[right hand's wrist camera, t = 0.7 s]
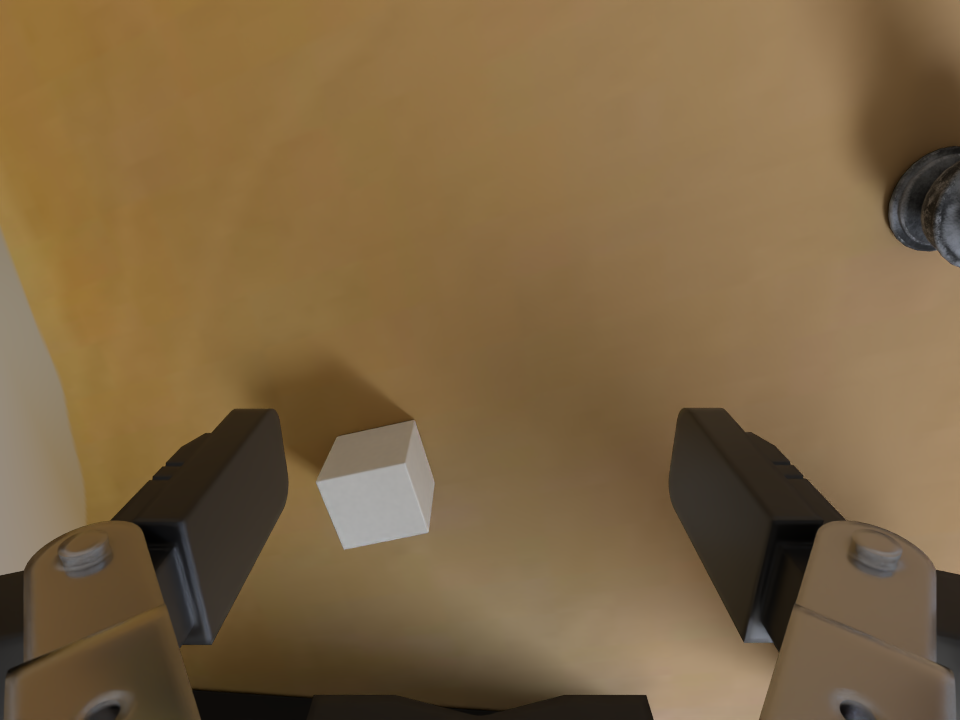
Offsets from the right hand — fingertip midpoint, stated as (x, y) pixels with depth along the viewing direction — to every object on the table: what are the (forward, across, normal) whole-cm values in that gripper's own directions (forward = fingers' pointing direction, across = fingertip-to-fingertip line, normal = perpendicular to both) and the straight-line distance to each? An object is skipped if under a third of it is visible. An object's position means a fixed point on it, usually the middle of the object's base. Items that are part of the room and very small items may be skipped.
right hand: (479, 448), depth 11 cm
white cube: (+20, -6, -13) cm, 25 cm away
